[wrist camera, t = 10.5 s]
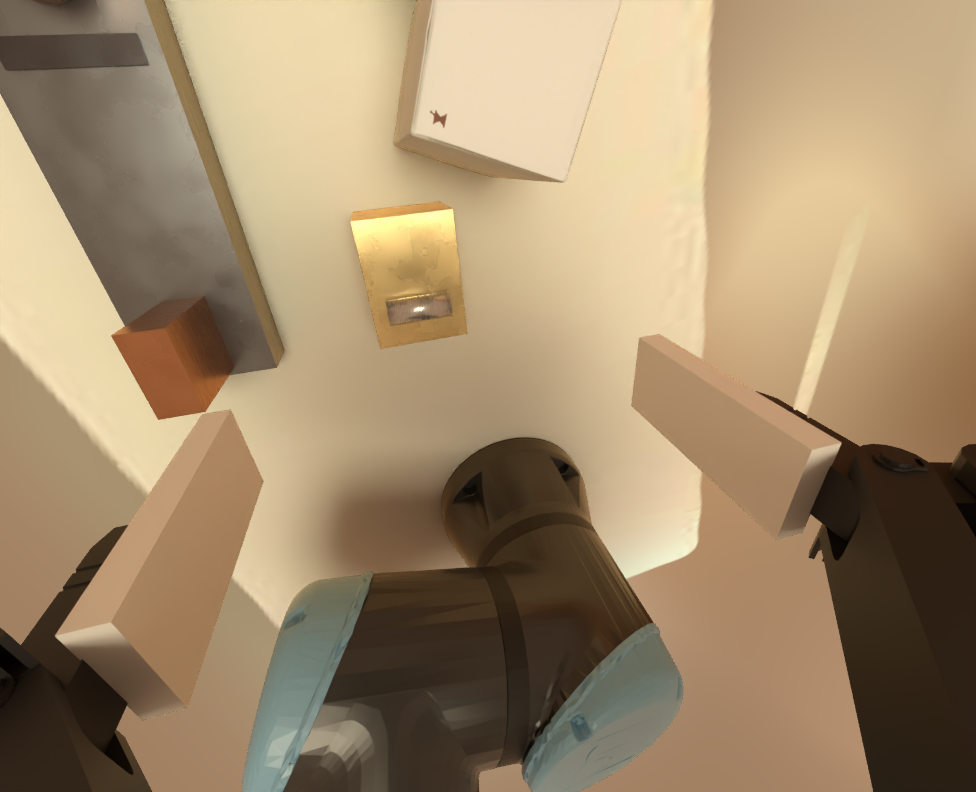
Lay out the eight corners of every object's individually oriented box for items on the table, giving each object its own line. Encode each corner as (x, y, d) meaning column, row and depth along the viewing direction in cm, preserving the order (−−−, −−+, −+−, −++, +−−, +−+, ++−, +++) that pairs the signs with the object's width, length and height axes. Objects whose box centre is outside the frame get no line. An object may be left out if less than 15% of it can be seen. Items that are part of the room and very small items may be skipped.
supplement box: (495, 180, 30) (566, 191, 19) (390, 145, 27) (404, 135, 17) (528, 55, 27) (633, -15, 16) (413, 3, 24) (447, -121, 14)
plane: (284, 351, 32) (257, 410, 24) (175, 367, 31) (110, 436, 23) (125, -112, 20) (-28, -283, 12) (-68, -118, 18) (-373, -312, 11)
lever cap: (453, 309, 34) (471, 340, 28) (379, 321, 33) (381, 357, 27) (439, 201, 30) (456, 211, 24) (353, 211, 29) (349, 224, 23)
